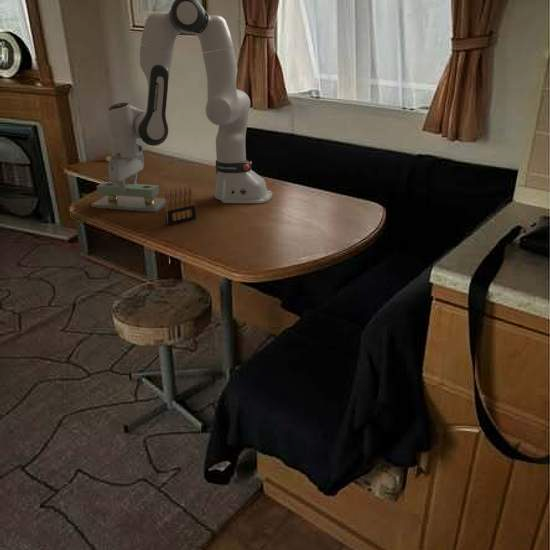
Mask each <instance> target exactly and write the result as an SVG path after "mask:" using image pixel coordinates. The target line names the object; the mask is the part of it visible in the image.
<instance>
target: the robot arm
mask: <svg viewBox="0 0 550 550" xmlns="http://www.w3.org/2000/svg"><path fill="white" fill-rule="evenodd" d="M228 26H229V25H228V23H227V20H226V19H225V18H224V17H223V16H221V15H217V14H212V15H209V14H208V12H207V11H206V10H205V8H204V7H203V6H202V4H201V3H200V2H199V0H174V1H173V3H172V4H171V6H170V10H169V12H168V13H166V14H165V13H164V14H163V13H161V12H158V13H157V12H155V13H151V14H149V15H148V16H147V18H146V21H145V23H144V26H143V29H142V34H141V38H140V39H141V40H140V47H139V67H140V68H141V71H142V72H143V74H144V76H145V79H146V81H147V87H148V89H147V101H146V110H144V109H143V110H142V109H140V108H138V107H136V106H133V105H131V104H130V103H129V102H119V103H115V104H113V105H111V106H110V107H109V108H108V110H107V127H108V132H109V135H110V149H111V156H112V157H111V160H110V161H109V162H108V179H109V182H113V183H118V184H119V185H120V187H121V191H124V192H125V191H126V190H127V186H125V183H126V180H127V179H129V178H130V180H129V183H131V184H137V179H138V173H139V172H141V171H143V169H144V168H145V161H144V154H143V151H144V146H143V144H137V139H141V141H142V142H143V143H144V144H146V145H148V146H154V147H155V146H156V147H157V146H160V145H161V144H163V143H164V142H165V141H166V139H167V138H168V135H169V126H168V122H167V118H166V117H167V115H166V113H167V111H166V110H167V100H168V89H169V88H168V87H169V80H170V79H169V78H170V70H171V66H172V60H173V56H174V55H173V54H174V47H175V42H176V39H177V37H178V36H182V35H183V36H184V35H191V34H195V35H196V37H198V40H199V42H200V46H201V47H200V48H201V51H202V57H203V63H204V66H205V67H204V68H205V73H206V80H207V81H206V83H207V84H206V86H207V103H206V104H205V114H206V117H207V120H209V122H210V123H211V124H214V125H216V126H218V130H217V134H216V137H215V151H216V160H215V172H216V185H215V186H216V187H215V192H214V198H215V199H217V200H219V201H221V202H222V203H223V204H265V203H266V202H269V201H270V200H271V199H272V198H273V191H271V190H270V189H269V190H268V189H267V183H266V181H265V179H264V178H263V177H262V176H261V175H259V174H258V173H257V172H255V171H254V170H252V164H253V163H252V160H251V161H249V160H248V159H247V153H246V152H247V151H246V148H247V147H246V139H247V137H246V134H247V127H248V121H249V111H250V110H251V99H250V97H249V95H248V94H247V93H246V92H245V91H243V90H241V89H237V78H238V77H237V76H238V71H239V69H238V66H237V65H238V63H237V61H236V54H235V49H234V48H235V47H234V44H233V43H234V42H233V39H232V34H231V31H230V28H229V27H228Z"/></svg>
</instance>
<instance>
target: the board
mask: <svg viewBox="0 0 550 550" xmlns="http://www.w3.org/2000/svg"><path fill="white" fill-rule="evenodd" d="M124 183H125V186H127V190H126V191H125V192H124V191H121V187H120V185H119V184H118V183H113V182H111V181H104V182H101V183H100V184H98V185H96V192H97V195H104V196H107V195H118V196H131V197H145V198H153V197H154V198H155V196H156V197H157V195H159V194H160V188H159V184H144V183H141V184H140V183H136V184H131V183H130V182H129V183H128V182H127V183H126V182H124Z"/></svg>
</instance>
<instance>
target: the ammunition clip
mask: <svg viewBox="0 0 550 550" xmlns="http://www.w3.org/2000/svg"><path fill="white" fill-rule="evenodd" d="M169 191H170V192H169ZM169 191H168V190H167V189H166V190H165V197H164V199H165V224H166V225H167V226H169V227H170V226H173V225H177V224H181V223H185V222H190V221H194V220H197V215H196V208H195V207H196V206H195V201H194V194H193V189H192V185H189V186H188V189H187V186H186V185H184V189H182V187H181V186H180V187H179V190H178V189H177V188H176V187H175V188H174V192H173V189H172V188H170V190H169ZM178 191H179V192H178ZM169 199H170V201H169Z"/></svg>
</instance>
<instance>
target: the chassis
mask: <svg viewBox="0 0 550 550" xmlns="http://www.w3.org/2000/svg"><path fill="white" fill-rule="evenodd" d="M169 201H170V198H169ZM92 206H96V207H102V208H101V209H107V208H109V209H108V210H120V211H121V210H122V211H135V212H149V213H158V212H159V211H161V210H162V209H163V208H166V206H165V198H161V197H160V198H159V197H155V196H154V197H153V198H145V197H131V196H118V195H104V196H103V197H102V198H100V199H97V200H96V201H94V202H93V203H91V207H92Z"/></svg>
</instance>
